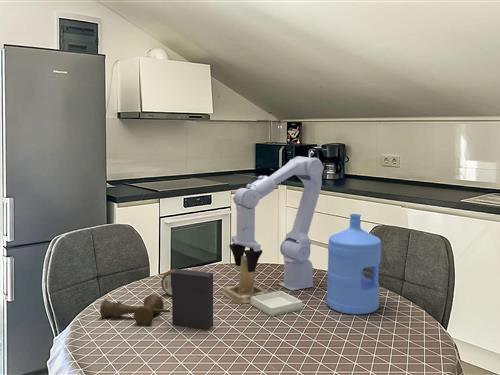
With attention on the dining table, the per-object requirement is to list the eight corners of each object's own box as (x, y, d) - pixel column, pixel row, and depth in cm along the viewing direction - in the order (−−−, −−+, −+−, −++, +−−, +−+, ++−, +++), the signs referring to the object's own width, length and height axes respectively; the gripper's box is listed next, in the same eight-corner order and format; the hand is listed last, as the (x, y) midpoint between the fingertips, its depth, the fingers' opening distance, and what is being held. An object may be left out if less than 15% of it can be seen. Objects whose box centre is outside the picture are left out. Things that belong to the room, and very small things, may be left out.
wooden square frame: (250, 288, 167) (250, 282, 167) (269, 298, 158) (269, 292, 158) (221, 294, 162) (221, 288, 161) (239, 304, 152) (239, 298, 152)
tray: (280, 298, 158) (280, 290, 158) (302, 309, 149) (302, 301, 148) (250, 304, 152) (250, 296, 152) (271, 316, 143) (271, 308, 142)
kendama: (110, 312, 147) (176, 314, 144) (95, 326, 138) (165, 328, 135) (108, 292, 146) (175, 294, 143) (94, 305, 137) (164, 307, 134)
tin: (209, 295, 160) (208, 269, 159) (207, 298, 157) (207, 272, 156) (163, 293, 162) (162, 268, 161) (160, 296, 159) (160, 271, 158)
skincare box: (237, 292, 163) (241, 254, 162) (251, 292, 163) (254, 255, 162) (239, 297, 156) (242, 259, 156) (253, 298, 157) (256, 260, 156)
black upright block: (214, 325, 136) (214, 272, 134) (208, 331, 132) (207, 276, 130) (178, 320, 140) (177, 268, 138) (171, 325, 136) (170, 272, 134)
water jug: (323, 312, 146) (325, 218, 143) (329, 295, 161) (331, 209, 158) (378, 318, 142) (382, 221, 139) (379, 299, 157) (383, 212, 154)
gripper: (223, 223, 161) (223, 264, 163) (246, 232, 149) (246, 276, 150) (242, 221, 165) (241, 262, 166) (266, 229, 152) (265, 273, 154)
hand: (245, 268), depth 159 cm, fingers closed on skincare box, 7 cm apart
